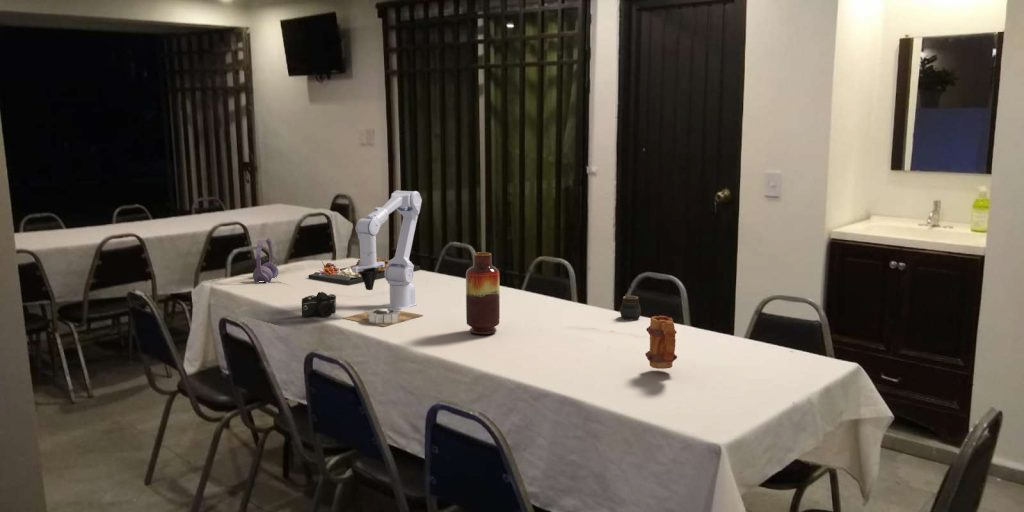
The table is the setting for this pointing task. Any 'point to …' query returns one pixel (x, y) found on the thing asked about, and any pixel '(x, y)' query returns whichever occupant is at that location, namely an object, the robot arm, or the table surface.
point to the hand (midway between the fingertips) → (369, 289)
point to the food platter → (347, 274)
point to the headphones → (266, 269)
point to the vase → (482, 295)
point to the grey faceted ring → (383, 316)
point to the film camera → (319, 305)
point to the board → (363, 319)
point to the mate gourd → (630, 307)
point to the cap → (383, 311)
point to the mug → (661, 342)
